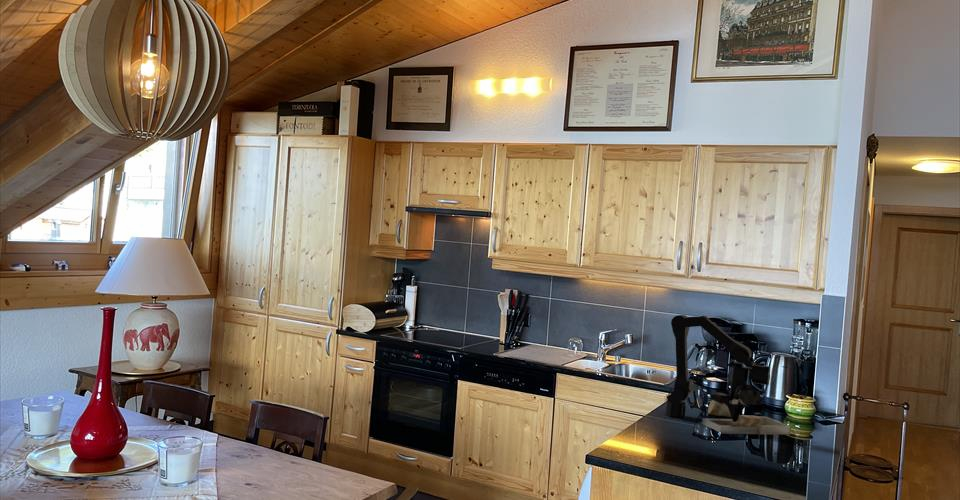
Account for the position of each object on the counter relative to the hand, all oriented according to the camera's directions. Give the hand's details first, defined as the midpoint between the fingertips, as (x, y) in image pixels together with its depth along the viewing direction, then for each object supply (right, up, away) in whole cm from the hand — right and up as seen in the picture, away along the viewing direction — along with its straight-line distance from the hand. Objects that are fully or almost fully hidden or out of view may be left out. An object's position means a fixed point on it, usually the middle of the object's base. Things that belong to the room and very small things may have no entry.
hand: (734, 421), depth 280 cm
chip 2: (+7, -3, +3) cm, 8 cm away
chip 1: (+3, -3, +1) cm, 4 cm away
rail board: (+4, -4, +2) cm, 6 cm away
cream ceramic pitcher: (+2, -3, +22) cm, 22 cm away
